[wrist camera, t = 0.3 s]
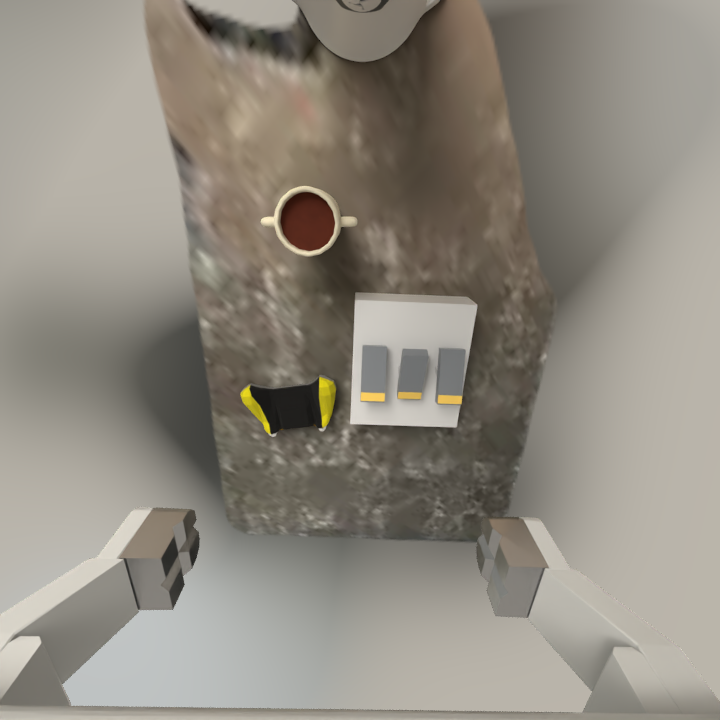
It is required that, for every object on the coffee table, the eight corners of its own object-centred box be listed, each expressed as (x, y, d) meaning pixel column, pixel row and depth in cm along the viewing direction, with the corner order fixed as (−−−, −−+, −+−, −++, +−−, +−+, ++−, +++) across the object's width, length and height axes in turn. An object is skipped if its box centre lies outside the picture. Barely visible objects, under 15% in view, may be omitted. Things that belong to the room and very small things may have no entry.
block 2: (438, 347, 52) (441, 349, 50) (462, 348, 52) (466, 349, 50) (434, 401, 53) (437, 404, 52) (457, 402, 53) (461, 405, 52)
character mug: (357, 190, 49) (357, 185, 37) (357, 245, 52) (357, 257, 40) (277, 191, 49) (251, 185, 37) (281, 246, 52) (258, 257, 40)
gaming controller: (244, 375, 60) (259, 426, 64) (234, 390, 55) (250, 445, 59) (334, 364, 59) (343, 416, 63) (332, 378, 54) (342, 434, 58)
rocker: (402, 348, 50) (403, 355, 49) (427, 349, 50) (428, 356, 49) (396, 391, 55) (397, 399, 53) (418, 392, 55) (420, 400, 53)
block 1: (362, 344, 52) (362, 346, 50) (386, 345, 52) (387, 347, 50) (360, 399, 53) (360, 402, 51) (383, 399, 53) (384, 402, 51)
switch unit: (355, 292, 54) (355, 302, 49) (467, 296, 55) (480, 307, 49) (350, 409, 62) (350, 429, 56) (449, 412, 63) (458, 433, 57)
